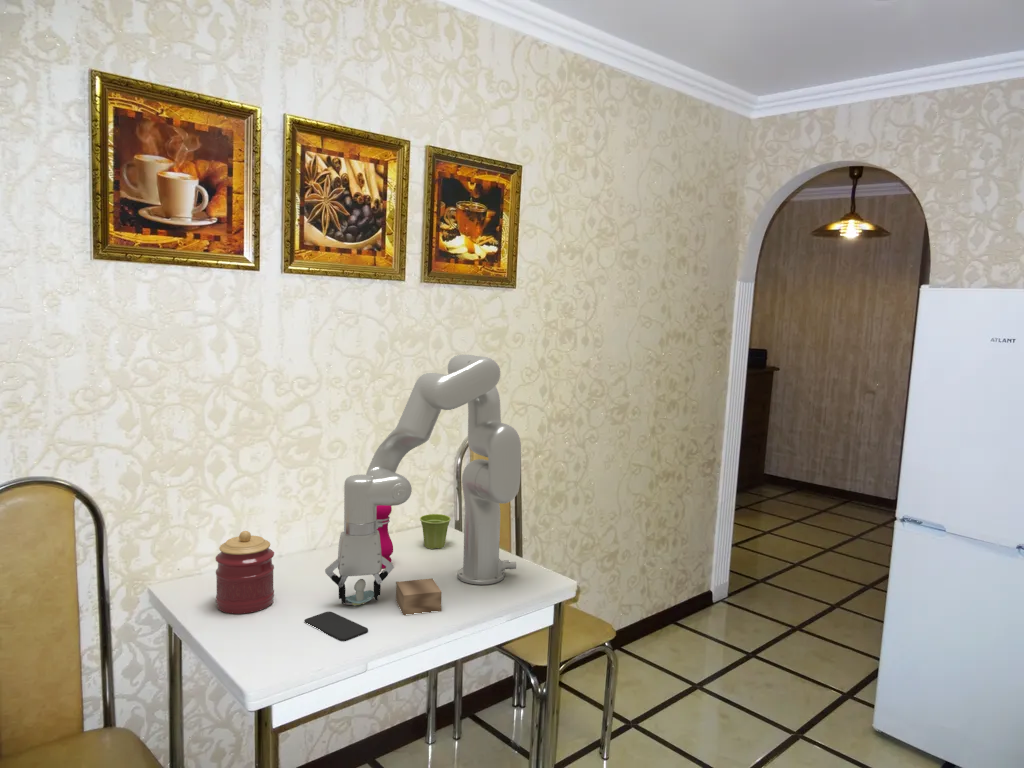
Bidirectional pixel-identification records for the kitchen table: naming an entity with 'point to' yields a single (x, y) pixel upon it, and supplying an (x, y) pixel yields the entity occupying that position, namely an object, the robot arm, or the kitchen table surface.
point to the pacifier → (359, 594)
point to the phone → (337, 626)
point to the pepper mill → (384, 531)
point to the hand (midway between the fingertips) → (359, 599)
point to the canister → (244, 574)
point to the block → (418, 596)
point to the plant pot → (434, 530)
